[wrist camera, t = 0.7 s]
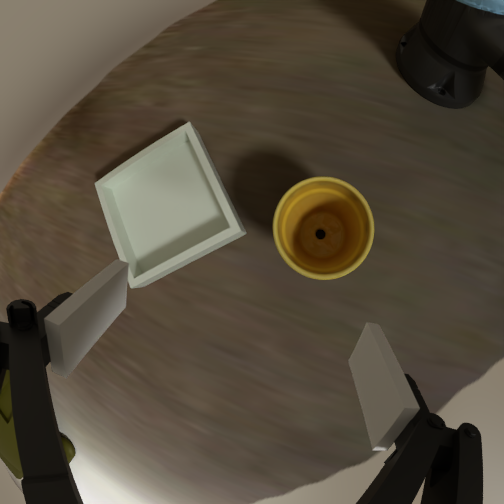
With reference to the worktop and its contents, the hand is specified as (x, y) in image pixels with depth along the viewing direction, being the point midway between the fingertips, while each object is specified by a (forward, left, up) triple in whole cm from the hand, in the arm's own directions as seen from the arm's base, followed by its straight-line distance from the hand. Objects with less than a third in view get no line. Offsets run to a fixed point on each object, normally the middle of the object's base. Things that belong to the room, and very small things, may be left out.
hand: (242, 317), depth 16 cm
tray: (+10, -17, -25) cm, 31 cm away
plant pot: (-7, -4, -25) cm, 26 cm away
